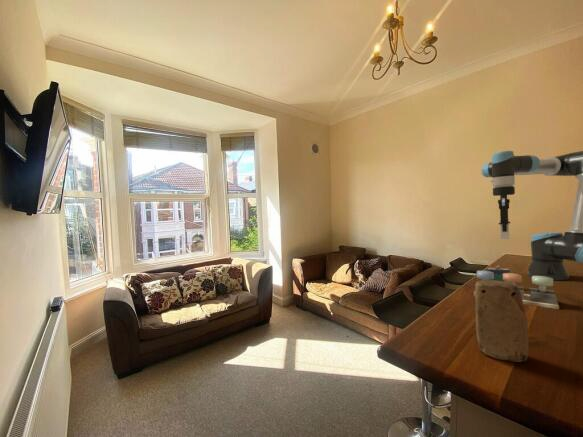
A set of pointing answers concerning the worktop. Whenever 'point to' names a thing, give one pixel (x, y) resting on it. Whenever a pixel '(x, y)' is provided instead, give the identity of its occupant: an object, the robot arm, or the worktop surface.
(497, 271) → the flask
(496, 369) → the worktop surface
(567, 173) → the robot arm
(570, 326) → the worktop surface
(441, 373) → the worktop surface
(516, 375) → the worktop surface
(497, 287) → the block
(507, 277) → the terracotta button
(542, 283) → the sage button
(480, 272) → the slate button
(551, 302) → the button board
